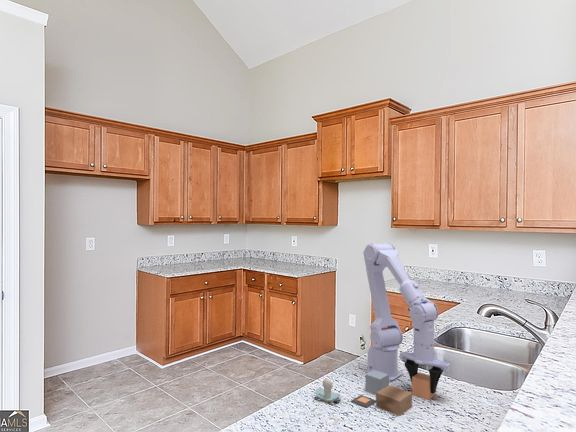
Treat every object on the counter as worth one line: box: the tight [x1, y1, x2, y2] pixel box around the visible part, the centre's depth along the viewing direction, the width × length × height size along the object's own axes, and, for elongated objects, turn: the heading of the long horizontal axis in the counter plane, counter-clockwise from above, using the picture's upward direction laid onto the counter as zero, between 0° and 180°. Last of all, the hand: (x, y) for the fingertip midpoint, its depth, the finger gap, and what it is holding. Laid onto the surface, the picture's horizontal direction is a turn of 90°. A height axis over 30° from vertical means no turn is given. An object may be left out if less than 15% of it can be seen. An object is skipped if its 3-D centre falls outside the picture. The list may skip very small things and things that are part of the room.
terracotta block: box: [411, 371, 437, 401], centre depth 107 cm, size 5×5×5 cm
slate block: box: [364, 370, 390, 396], centre depth 109 cm, size 5×5×5 cm
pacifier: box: [314, 378, 342, 403], centre depth 103 cm, size 7×6×6 cm
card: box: [350, 394, 376, 409], centre depth 101 cm, size 5×5×1 cm
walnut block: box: [375, 384, 413, 417], centre depth 99 cm, size 7×7×4 cm
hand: (423, 389), depth 107 cm, fingers closed on terracotta block, 5 cm apart
